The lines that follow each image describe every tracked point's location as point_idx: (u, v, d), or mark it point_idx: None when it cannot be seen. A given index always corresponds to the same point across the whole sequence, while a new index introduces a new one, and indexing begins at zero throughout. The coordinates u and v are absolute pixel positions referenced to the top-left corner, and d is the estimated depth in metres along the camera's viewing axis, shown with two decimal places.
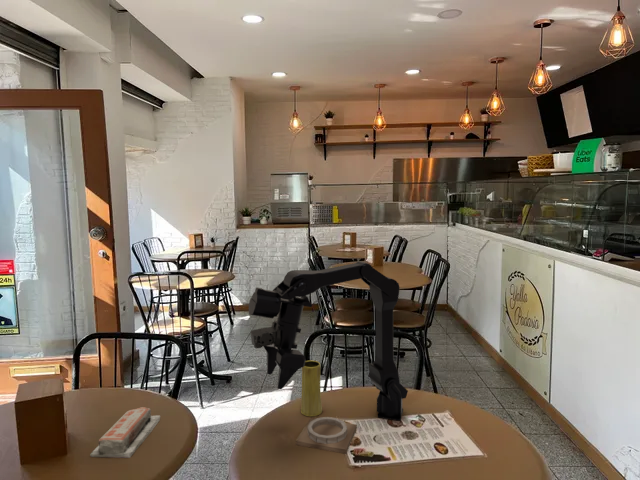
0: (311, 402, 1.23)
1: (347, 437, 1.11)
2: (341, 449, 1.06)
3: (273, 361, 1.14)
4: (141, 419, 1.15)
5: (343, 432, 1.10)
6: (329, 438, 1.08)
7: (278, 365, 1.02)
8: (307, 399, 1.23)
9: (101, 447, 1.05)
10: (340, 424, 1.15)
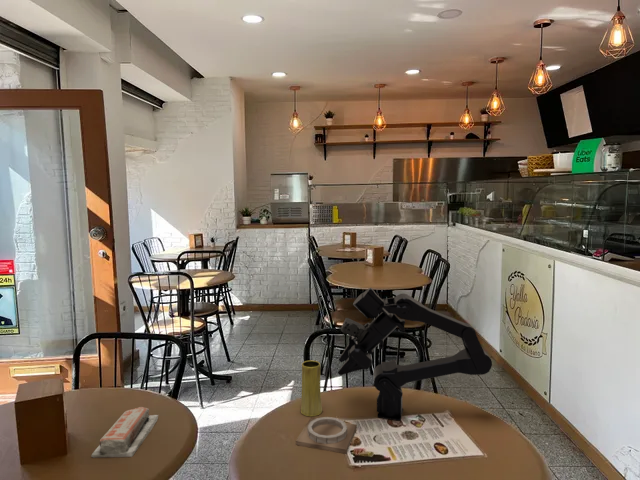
0: (311, 402, 1.23)
1: (347, 437, 1.11)
2: (341, 449, 1.06)
3: (349, 353, 1.28)
4: (140, 419, 1.15)
5: (343, 432, 1.10)
6: (329, 438, 1.08)
7: (348, 354, 1.16)
8: (307, 399, 1.23)
9: (102, 447, 1.05)
10: (340, 424, 1.15)
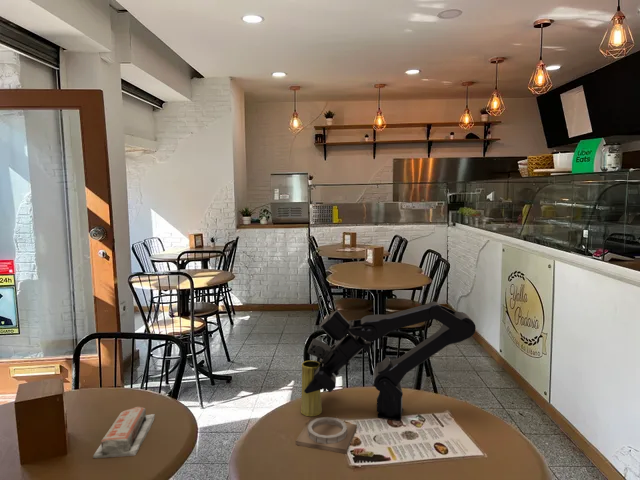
0: (311, 402, 1.23)
1: (347, 437, 1.11)
2: (341, 449, 1.06)
3: None
4: (139, 418, 1.15)
5: (343, 432, 1.10)
6: (329, 438, 1.08)
7: None
8: (307, 399, 1.23)
9: (105, 447, 1.04)
10: (340, 424, 1.15)
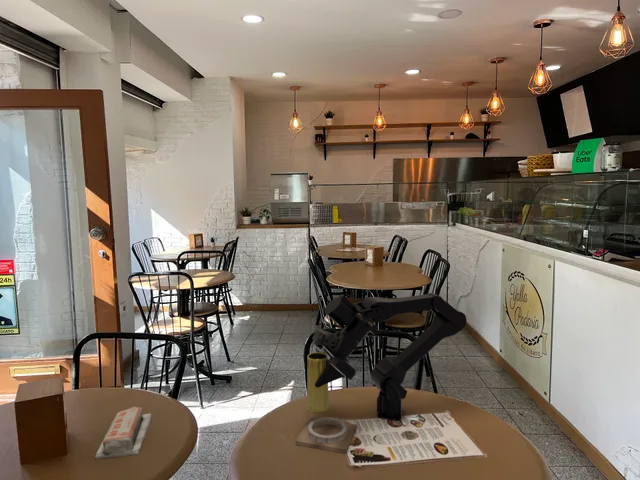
0: (321, 396, 1.14)
1: (347, 437, 1.11)
2: (341, 449, 1.06)
3: None
4: (138, 417, 1.16)
5: (343, 432, 1.10)
6: (329, 438, 1.08)
7: (328, 364, 1.11)
8: (316, 394, 1.14)
9: (107, 447, 1.04)
10: (340, 424, 1.15)
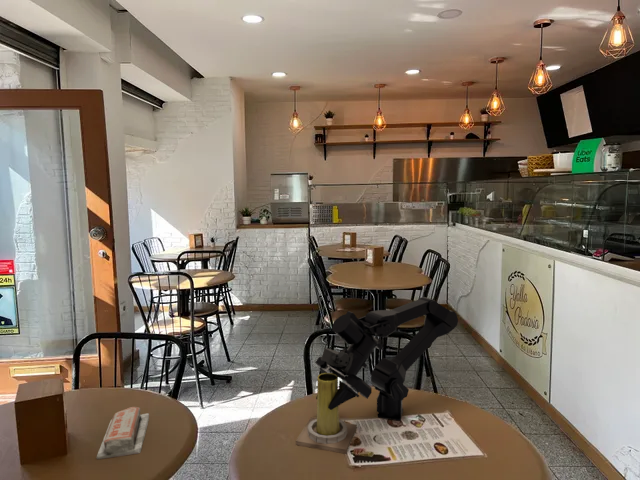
0: (334, 419, 1.11)
1: (347, 437, 1.11)
2: (341, 449, 1.06)
3: None
4: (137, 417, 1.16)
5: (343, 432, 1.10)
6: (329, 438, 1.08)
7: (343, 385, 1.08)
8: (329, 417, 1.10)
9: (109, 447, 1.04)
10: (340, 424, 1.15)
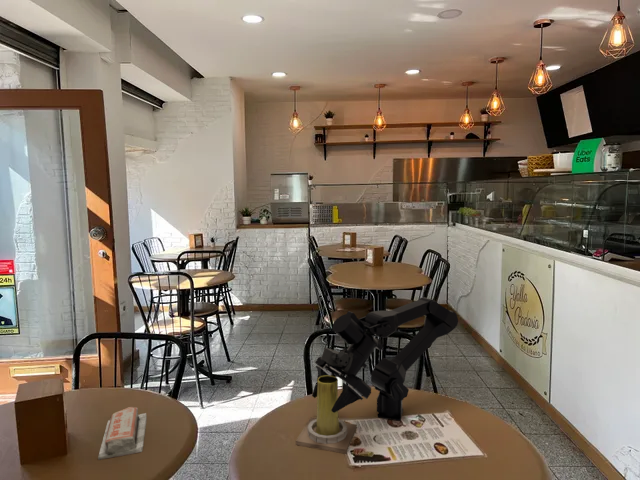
0: (334, 421, 1.11)
1: (347, 437, 1.11)
2: (341, 449, 1.06)
3: None
4: (136, 417, 1.16)
5: (343, 432, 1.10)
6: (329, 438, 1.08)
7: (347, 387, 1.06)
8: (329, 419, 1.10)
9: (110, 447, 1.04)
10: (340, 424, 1.15)
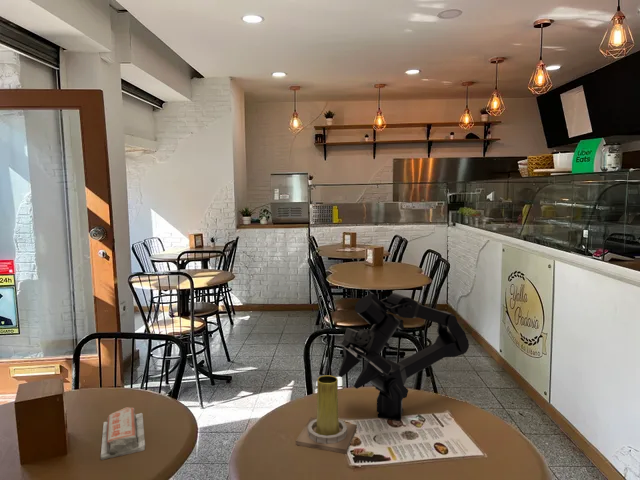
0: (334, 421, 1.11)
1: (347, 437, 1.11)
2: (341, 449, 1.06)
3: (347, 366, 1.22)
4: (134, 417, 1.16)
5: (343, 432, 1.10)
6: (329, 438, 1.08)
7: (367, 363, 1.11)
8: (329, 419, 1.10)
9: (113, 447, 1.05)
10: (340, 424, 1.15)
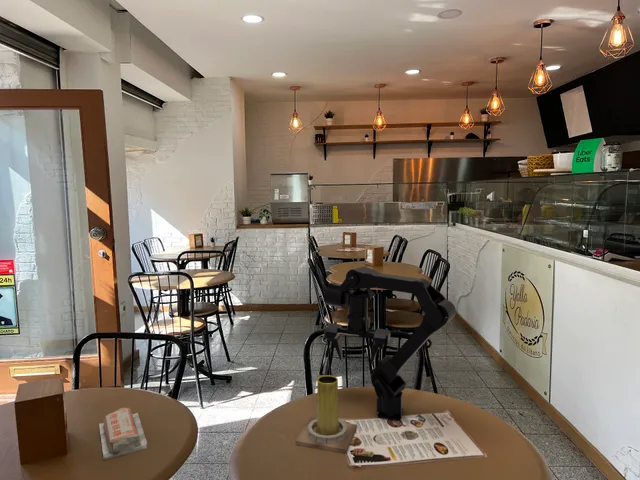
0: (334, 421, 1.11)
1: (347, 437, 1.11)
2: (341, 449, 1.06)
3: None
4: (132, 416, 1.16)
5: (343, 432, 1.10)
6: (329, 438, 1.08)
7: None
8: (329, 419, 1.10)
9: (116, 447, 1.05)
10: (340, 424, 1.15)
